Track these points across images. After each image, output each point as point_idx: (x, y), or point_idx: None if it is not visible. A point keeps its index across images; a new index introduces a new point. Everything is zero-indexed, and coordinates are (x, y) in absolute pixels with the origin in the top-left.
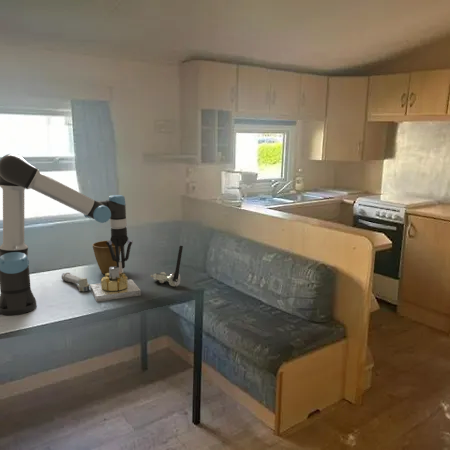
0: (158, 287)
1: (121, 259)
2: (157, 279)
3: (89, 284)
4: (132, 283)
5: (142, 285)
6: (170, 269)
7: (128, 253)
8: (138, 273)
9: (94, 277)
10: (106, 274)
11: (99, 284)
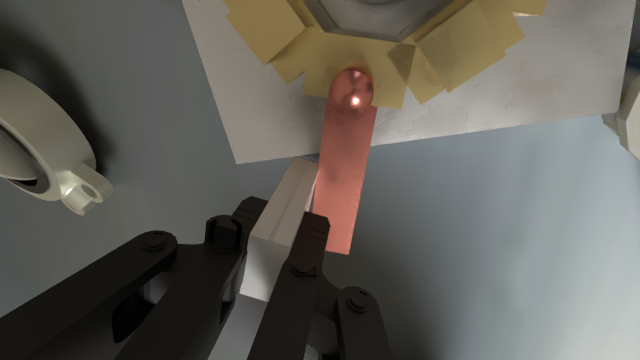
0: (51, 20)
1: (228, 267)
2: (33, 88)
3: (633, 99)
4: (217, 45)
5: (174, 100)
6: None
7: (7, 316)
8: (230, 322)
9: (490, 341)
10: (490, 29)
11: (523, 89)
